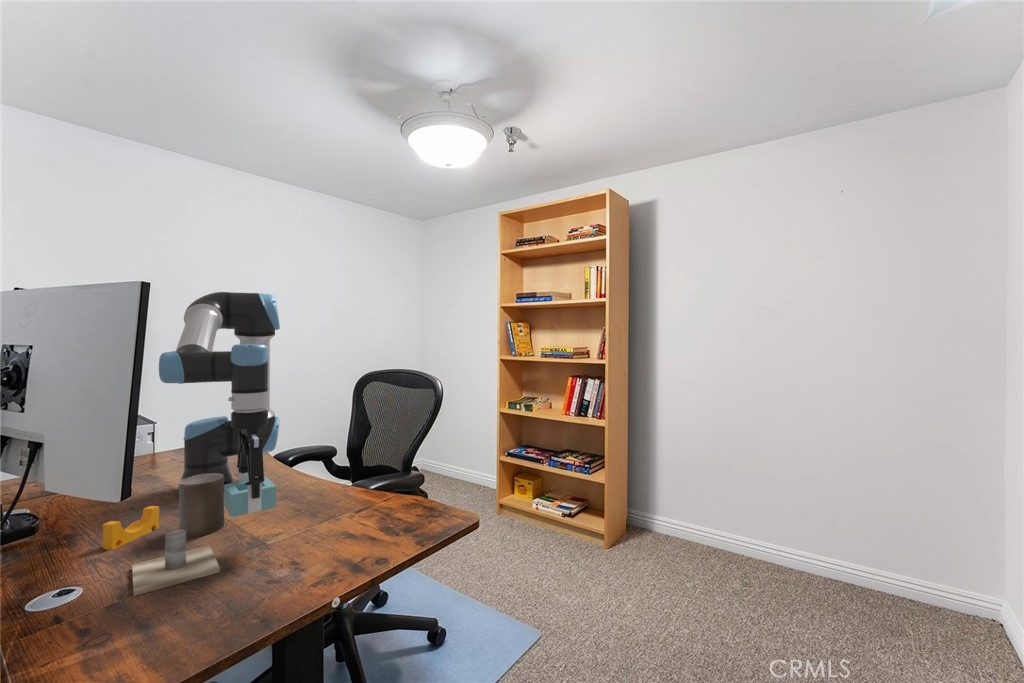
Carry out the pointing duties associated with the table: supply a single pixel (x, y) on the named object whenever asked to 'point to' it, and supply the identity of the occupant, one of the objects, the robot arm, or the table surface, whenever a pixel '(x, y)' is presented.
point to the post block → (173, 565)
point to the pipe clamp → (130, 529)
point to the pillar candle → (201, 504)
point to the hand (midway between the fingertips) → (250, 505)
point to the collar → (239, 497)
